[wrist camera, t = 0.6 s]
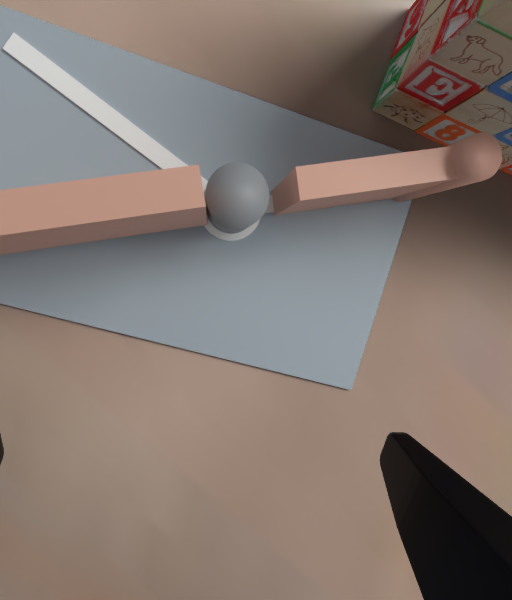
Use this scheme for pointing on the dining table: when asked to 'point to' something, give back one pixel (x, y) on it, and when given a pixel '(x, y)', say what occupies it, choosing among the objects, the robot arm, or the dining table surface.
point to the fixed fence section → (388, 176)
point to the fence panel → (130, 206)
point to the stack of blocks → (453, 72)
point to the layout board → (194, 240)
